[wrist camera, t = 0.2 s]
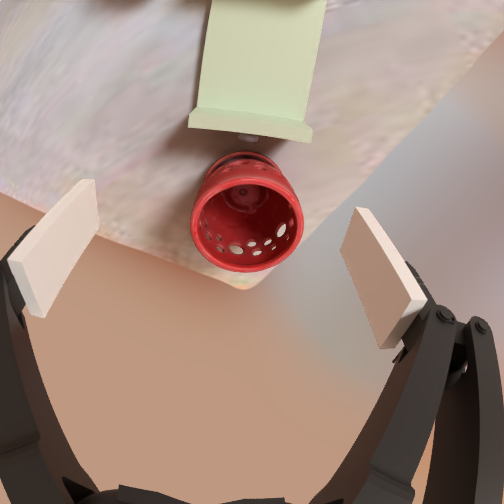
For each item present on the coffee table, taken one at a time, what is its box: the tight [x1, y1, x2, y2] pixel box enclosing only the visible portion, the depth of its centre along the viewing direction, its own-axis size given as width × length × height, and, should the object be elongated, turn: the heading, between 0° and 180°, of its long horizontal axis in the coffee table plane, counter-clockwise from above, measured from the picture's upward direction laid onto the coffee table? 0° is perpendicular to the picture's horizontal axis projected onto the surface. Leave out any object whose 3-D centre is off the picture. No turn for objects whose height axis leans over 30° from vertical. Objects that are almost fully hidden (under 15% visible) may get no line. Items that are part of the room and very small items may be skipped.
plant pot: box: [190, 151, 304, 273], centre depth 38 cm, size 13×13×12 cm
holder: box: [188, 0, 327, 143], centre depth 28 cm, size 25×14×7 cm, turn 171°
